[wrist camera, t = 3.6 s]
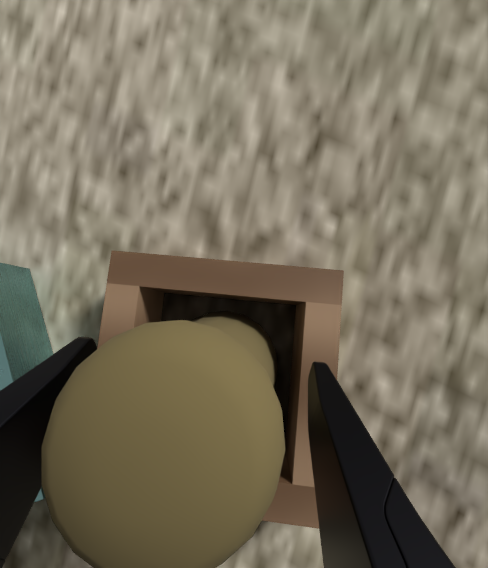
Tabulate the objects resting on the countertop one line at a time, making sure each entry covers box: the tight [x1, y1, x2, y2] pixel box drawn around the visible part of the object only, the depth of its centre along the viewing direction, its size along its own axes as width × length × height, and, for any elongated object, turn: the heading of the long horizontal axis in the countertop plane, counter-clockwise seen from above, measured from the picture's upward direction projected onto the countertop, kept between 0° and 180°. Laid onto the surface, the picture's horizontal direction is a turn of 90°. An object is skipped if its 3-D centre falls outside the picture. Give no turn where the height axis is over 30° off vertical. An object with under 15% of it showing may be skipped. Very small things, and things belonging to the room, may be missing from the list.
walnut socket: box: [97, 251, 344, 528], centre depth 14 cm, size 10×10×4 cm
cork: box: [42, 311, 285, 568], centre depth 11 cm, size 6×6×11 cm
